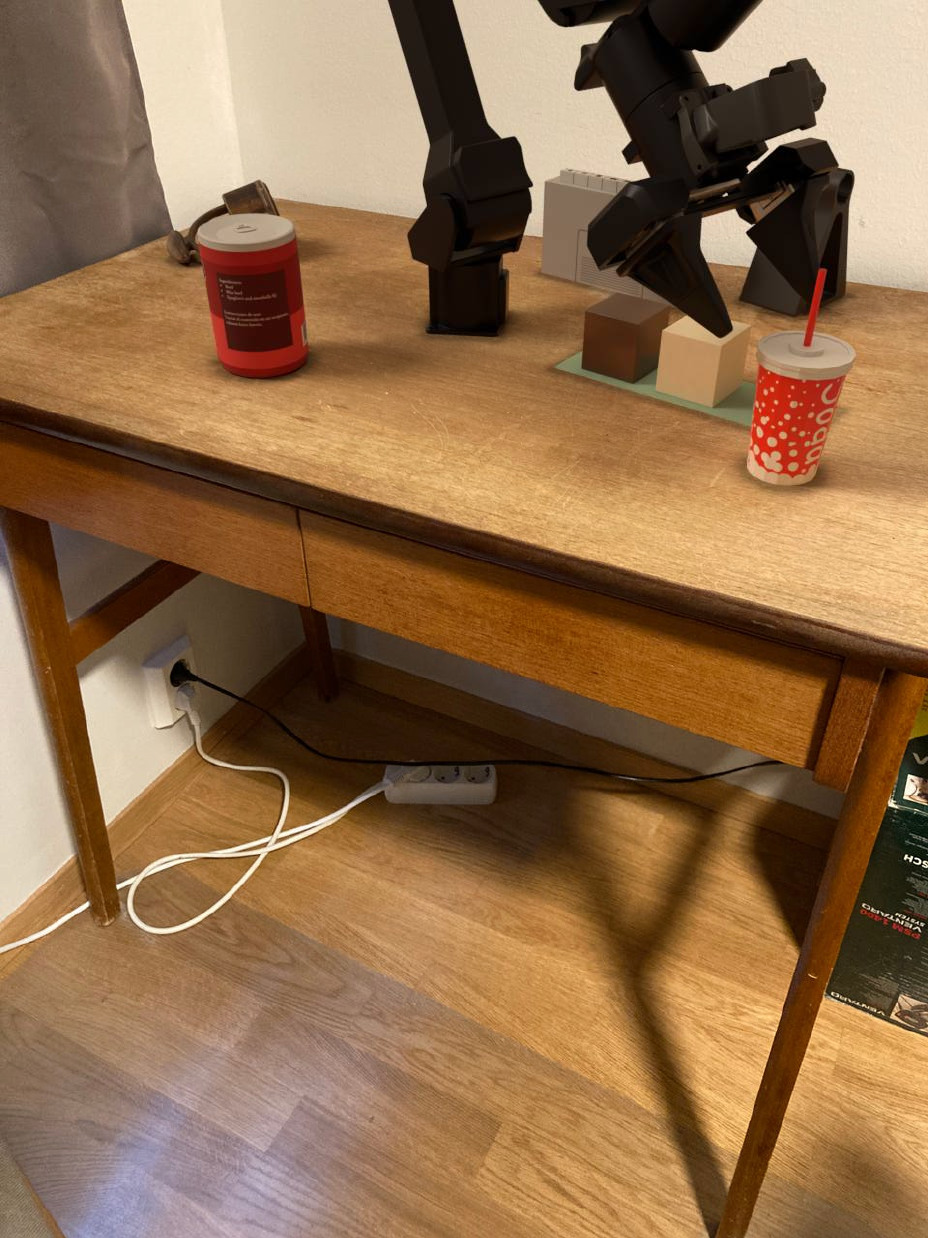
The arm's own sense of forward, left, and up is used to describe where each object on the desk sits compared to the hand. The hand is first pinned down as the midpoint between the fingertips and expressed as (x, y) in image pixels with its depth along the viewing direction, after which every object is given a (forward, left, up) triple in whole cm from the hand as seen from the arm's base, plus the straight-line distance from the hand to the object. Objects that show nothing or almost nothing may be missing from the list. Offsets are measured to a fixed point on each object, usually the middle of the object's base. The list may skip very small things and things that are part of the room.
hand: (773, 317), depth 65 cm
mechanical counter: (-51, +39, -10) cm, 65 cm away
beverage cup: (+2, -2, -10) cm, 11 cm away
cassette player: (-10, +33, -10) cm, 36 cm away
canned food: (-39, +12, -10) cm, 43 cm away
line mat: (-4, +11, -10) cm, 15 cm away
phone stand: (+7, +32, -10) cm, 34 cm away
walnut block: (-9, +14, -10) cm, 19 cm away
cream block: (-3, +10, -10) cm, 15 cm away
